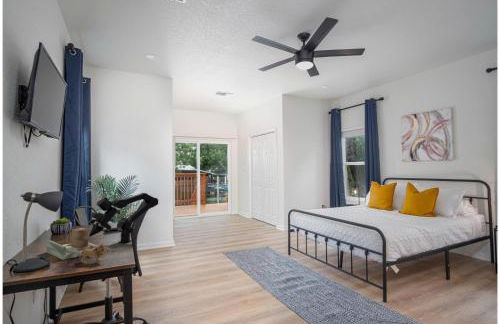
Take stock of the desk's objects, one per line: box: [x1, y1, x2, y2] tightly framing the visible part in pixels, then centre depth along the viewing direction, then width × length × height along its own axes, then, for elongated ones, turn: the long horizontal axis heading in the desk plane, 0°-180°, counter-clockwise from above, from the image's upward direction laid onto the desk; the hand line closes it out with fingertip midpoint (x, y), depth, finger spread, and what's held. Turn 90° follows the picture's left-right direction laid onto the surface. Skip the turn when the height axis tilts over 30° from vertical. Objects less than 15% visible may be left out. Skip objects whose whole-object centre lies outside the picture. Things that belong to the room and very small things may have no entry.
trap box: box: [46, 239, 100, 261], centre depth 168 cm, size 20×22×6 cm
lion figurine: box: [75, 243, 109, 265], centre depth 150 cm, size 15×5×9 cm, turn 105°
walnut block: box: [71, 227, 89, 248], centre depth 170 cm, size 6×7×10 cm
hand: (89, 236), depth 175 cm, fingers closed
